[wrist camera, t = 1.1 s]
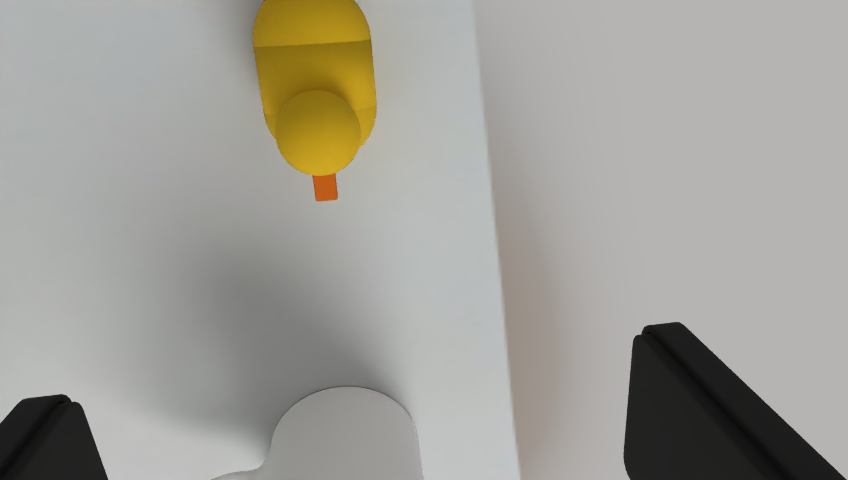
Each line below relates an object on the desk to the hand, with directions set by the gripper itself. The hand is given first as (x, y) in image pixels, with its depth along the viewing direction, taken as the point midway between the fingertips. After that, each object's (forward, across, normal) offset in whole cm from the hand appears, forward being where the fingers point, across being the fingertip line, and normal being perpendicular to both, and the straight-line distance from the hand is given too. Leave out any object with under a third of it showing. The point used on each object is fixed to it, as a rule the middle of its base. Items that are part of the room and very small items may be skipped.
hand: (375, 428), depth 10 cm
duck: (+18, +1, -4) cm, 18 cm away
